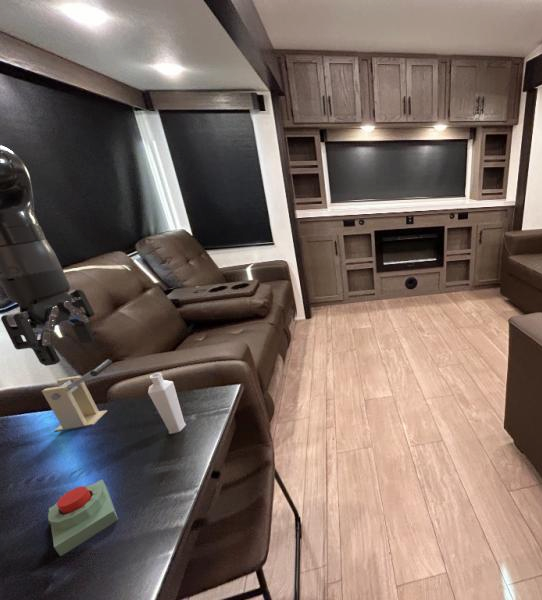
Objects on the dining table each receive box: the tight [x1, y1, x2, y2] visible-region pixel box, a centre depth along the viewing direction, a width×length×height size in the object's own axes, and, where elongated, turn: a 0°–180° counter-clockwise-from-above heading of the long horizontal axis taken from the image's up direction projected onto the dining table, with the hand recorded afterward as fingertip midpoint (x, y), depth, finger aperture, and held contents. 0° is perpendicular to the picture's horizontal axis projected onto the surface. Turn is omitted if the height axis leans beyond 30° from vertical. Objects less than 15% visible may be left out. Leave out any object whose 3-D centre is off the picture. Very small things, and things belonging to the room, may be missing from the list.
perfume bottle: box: [147, 372, 187, 435], centre depth 69 cm, size 5×4×15 cm
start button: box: [56, 485, 91, 514], centre depth 52 cm, size 4×4×2 cm
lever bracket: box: [41, 375, 108, 432], centre depth 75 cm, size 8×6×12 cm
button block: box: [47, 479, 119, 557], centre depth 53 cm, size 10×7×4 cm
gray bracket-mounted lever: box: [58, 359, 113, 393], centre depth 73 cm, size 12×5×2 cm, turn 100°
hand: (71, 352), depth 60 cm, fingers open, 8 cm apart
